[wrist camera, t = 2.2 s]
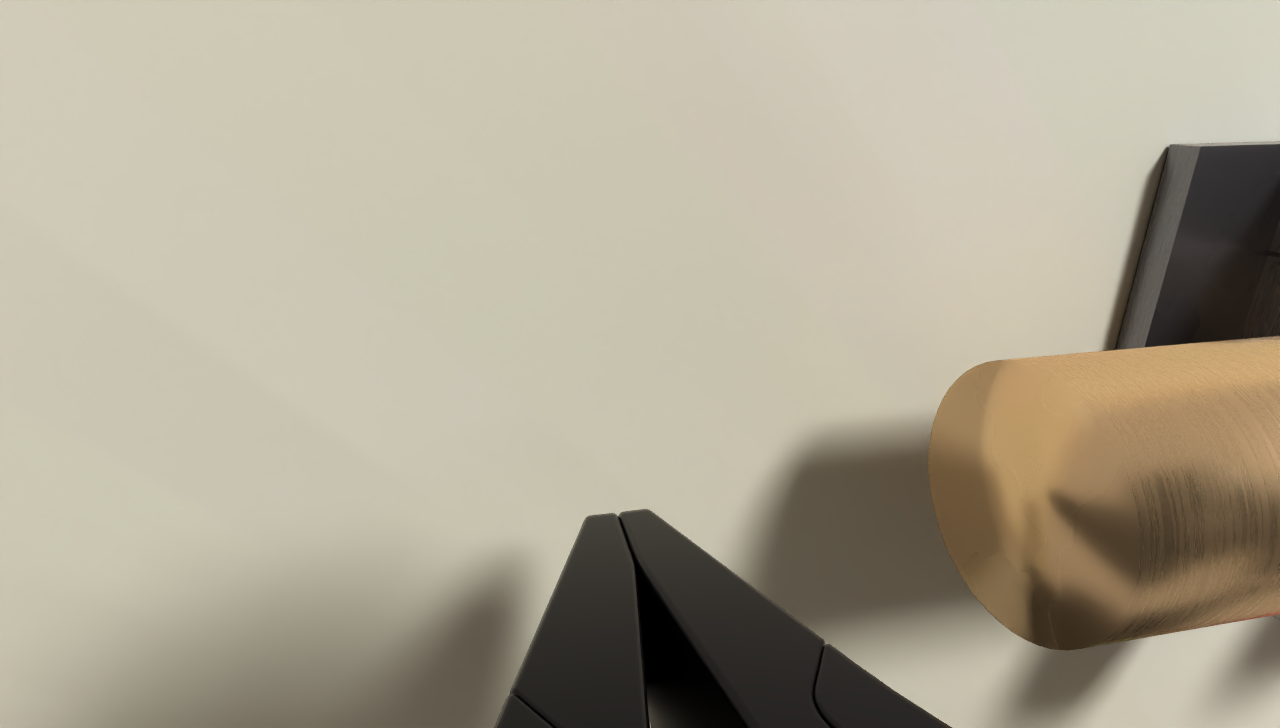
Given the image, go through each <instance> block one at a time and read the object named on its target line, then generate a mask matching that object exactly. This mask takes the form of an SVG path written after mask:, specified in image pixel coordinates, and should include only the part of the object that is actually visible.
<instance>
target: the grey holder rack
mask: <svg viewBox="0 0 1280 728" xmlns="http://www.w3.org/2000/svg"><path fill="white" fill-rule="evenodd" d="M1269 336H1280V141H1278V142H1242V143H1207V144H1171V145H1170V147H1169V151H1168V155H1167V158H1166V162H1165V166H1164V170H1163V173H1162V177H1161V181H1160V185H1159V189H1158V192H1157V196H1156V200H1155V204H1154V208H1153V211H1152V215H1151V219H1150V223H1149V226H1148V230H1147V234H1146V238H1145V242H1144V245H1143V249H1142V253H1141V257H1140V260H1139V264H1138V268H1137V272H1136V276H1135V279H1134V283H1133V287H1132V291H1131V294H1130V298H1129V302H1128V306H1127V310H1126V313H1125V317H1124V321H1123V325H1122V328H1121V332H1120V336H1119V340H1118V344H1117V347H1116V350H1122V349H1133V348H1144V347H1156V346H1167V345H1179V344H1190V343H1201V342H1213V341H1224V340H1235V339H1247V338H1258V337H1269ZM1273 616H1274V617H1276V618H1277V619H1279V620H1280V614H1277V615H1273Z"/></svg>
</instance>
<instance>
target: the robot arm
mask: <svg viewBox="0 0 1280 728" xmlns="http://www.w3.org/2000/svg"><path fill="white" fill-rule="evenodd" d="M649 721H650V724H651V727H652V728H952V727H950V726H949V725H947V724H945V723H944V722H942V721H940V720H939V719H937V718H936V717H934V716H933V715H931V714H930V713H928V712H927V711H925V710H923V709H922V708H920V707H919V706H917V705H916V704H914V703H913V702H911V701H909V700H908V699H906V698H905V697H903V696H902V695H900V694H899V693H897V692H895V691H894V690H892V689H891V688H890V687H888V686H887V685H885V684H884V683H883V682H881V681H880V680H878V679H877V678H876V677H874V676H873V675H871V674H870V673H868V672H867V671H866V670H864V669H863V668H861V667H860V666H859V665H857V664H856V663H854V662H853V661H852V660H850V659H849V658H848V657H846V656H845V655H844V654H842V653H841V652H840V651H838V650H837V649H836V648H834V647H833V646H832V645H830V644H826V645H825V642H824V640H823V639H822V638H820V637H819V636H818V635H816V634H815V633H814V632H812V631H811V630H810V629H808V628H807V627H806V626H804V625H803V624H802V623H800V622H799V621H798V620H796V619H795V618H794V617H792V616H791V615H790V614H788V613H787V612H786V611H784V610H783V609H782V608H780V607H779V606H778V605H776V604H775V603H774V602H772V601H771V600H770V599H768V598H767V597H766V596H764V595H763V594H762V593H760V592H759V591H758V590H756V589H755V588H754V587H752V586H751V585H750V584H748V583H747V582H746V581H744V580H743V579H742V578H740V577H739V576H738V575H736V574H735V573H734V572H732V571H731V570H730V569H728V568H727V567H726V566H724V565H723V564H721V563H720V562H719V561H717V560H716V559H715V558H713V557H712V556H711V555H709V554H708V553H707V552H705V551H704V550H703V549H701V548H700V547H699V546H697V545H696V544H695V543H693V542H692V541H691V540H689V539H688V538H687V537H685V536H684V535H683V534H681V533H680V532H679V531H677V530H676V529H675V528H673V527H672V526H671V525H669V524H668V523H667V522H665V521H664V520H663V519H661V518H660V517H659V516H657V515H656V514H655V513H653V512H652V511H650V510H648V509H641V510H633V511H625V512H621V513H620V514H619V516H617V515H616V514H614V513H608V514H600V515H591V516H588V517H586V519H585V520H584V522H583V525H582V527H581V529H580V532H579V534H578V536H577V538H576V541H575V543H574V545H573V548H572V550H571V552H570V555H569V557H568V559H567V561H566V564H565V566H564V568H563V571H562V573H561V575H560V578H559V580H558V582H557V585H556V587H555V589H554V591H553V594H552V596H551V598H550V601H549V603H548V605H547V608H546V610H545V612H544V614H543V617H542V619H541V621H540V624H539V626H538V628H537V631H536V633H535V635H534V638H533V640H532V642H531V644H530V647H529V649H528V651H527V654H526V656H525V658H524V661H523V663H522V665H521V667H520V670H519V672H518V674H517V677H516V679H515V681H514V684H513V686H512V688H511V691H510V696H508V697H507V699H506V701H505V703H504V706H503V708H502V710H501V713H500V715H499V717H498V720H497V722H496V724H495V726H494V728H650V724H649Z"/></svg>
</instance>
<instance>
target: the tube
mask: <svg viewBox="0 0 1280 728" xmlns="http://www.w3.org/2000/svg"><path fill="white" fill-rule="evenodd" d="M929 480H930V488H931V496H932V501H933V506H934V510H935V514H936V518H937V521H938V525H939V528H940V531H941V534H942V536H943V539H944V542H945V544H946V546H947V549H948V551H949V553H950V556H951V558H952V560H953V562H954V563H955V565H956V567H957V569H958V571H959V573H960V574H961V576H962V578H963V579H964V581H965V582H966V584H967V585H968V587H969V588H970V590H971V591H972V592H973V594H974V595H975V596H976V598H977V599H978V600H979V601H980V602H981V604H982V605H983V606H984V607H985V608H986V609H987V610H988V611H989V612H990V613H991V614H992V615H993V616H994V617H995V618H996V619H997V620H998V621H999V622H1000V623H1002V624H1003V625H1004V626H1005V627H1007V628H1008V629H1009V630H1011V631H1012V632H1013V633H1015V634H1017V635H1018V636H1020V637H1022V638H1023V639H1025V640H1027V641H1030V642H1032V643H1034V644H1037V645H1039V646H1043V647H1046V648H1050V649H1056V650H1074V649H1082V648H1087V647H1093V646H1099V645H1105V644H1110V643H1116V642H1122V641H1128V640H1133V639H1139V638H1145V637H1151V636H1156V635H1162V634H1168V633H1174V632H1179V631H1185V630H1191V629H1197V628H1202V627H1208V626H1214V625H1220V624H1225V623H1231V622H1237V621H1243V620H1248V619H1254V618H1260V617H1266V616H1271V615H1277V614H1280V336H1269V337H1258V338H1247V339H1235V340H1224V341H1213V342H1201V343H1190V344H1179V345H1167V346H1156V347H1144V348H1133V349H1122V350H1110V351H1099V352H1088V353H1076V354H1065V355H1054V356H1042V357H1031V358H1019V359H1008V360H998V361H991V362H986V363H983V364H980V365H977V366H975V367H974V368H972V369H970V370H968V371H967V372H965V373H964V374H963V375H962V376H960V377H959V378H958V379H957V380H956V381H955V382H954V384H953V385H952V386H951V387H950V388H949V390H948V391H947V393H946V395H945V396H944V398H943V400H942V402H941V404H940V406H939V408H938V411H937V414H936V417H935V420H934V423H933V428H932V432H931V438H930V446H929Z"/></svg>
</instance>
